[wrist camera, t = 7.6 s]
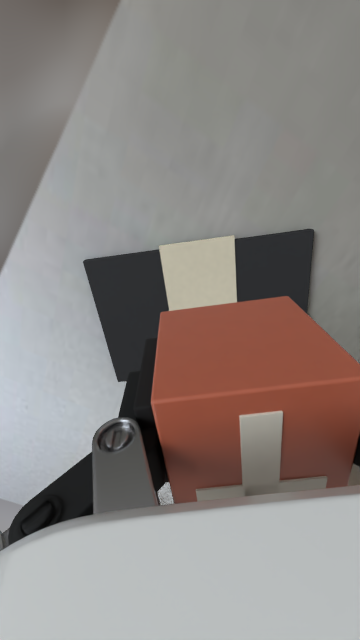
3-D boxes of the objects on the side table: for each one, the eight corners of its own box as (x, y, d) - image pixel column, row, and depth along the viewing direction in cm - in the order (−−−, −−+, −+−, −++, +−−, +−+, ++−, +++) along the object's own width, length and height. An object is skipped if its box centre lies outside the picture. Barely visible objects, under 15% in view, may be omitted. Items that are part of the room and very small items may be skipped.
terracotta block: (159, 311, 11) (149, 404, 6) (288, 294, 10) (377, 378, 6) (176, 406, 13) (178, 527, 8) (283, 394, 13) (345, 511, 8)
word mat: (120, 381, 27) (118, 386, 26) (83, 254, 21) (80, 256, 21) (300, 359, 26) (303, 363, 26) (311, 223, 21) (315, 224, 20)
